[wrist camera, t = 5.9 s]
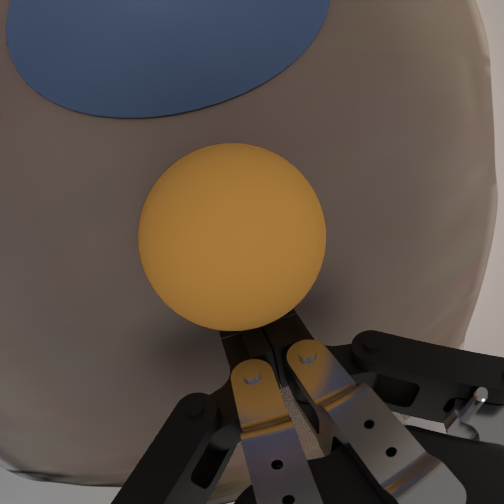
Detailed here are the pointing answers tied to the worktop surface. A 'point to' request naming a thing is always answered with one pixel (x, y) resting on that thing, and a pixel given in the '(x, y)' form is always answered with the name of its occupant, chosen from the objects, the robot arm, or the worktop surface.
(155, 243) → the ball
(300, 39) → the disc
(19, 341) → the worktop surface
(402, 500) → the robot arm
